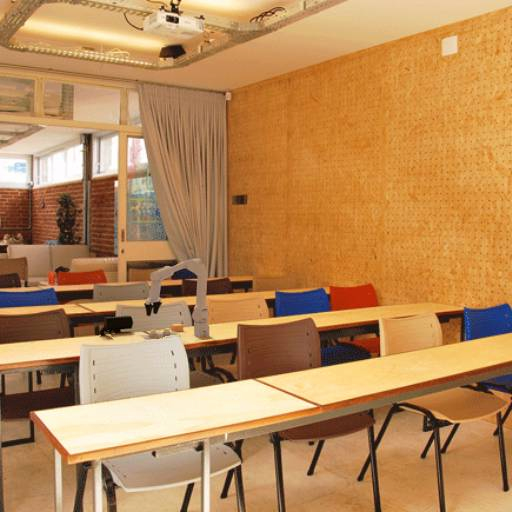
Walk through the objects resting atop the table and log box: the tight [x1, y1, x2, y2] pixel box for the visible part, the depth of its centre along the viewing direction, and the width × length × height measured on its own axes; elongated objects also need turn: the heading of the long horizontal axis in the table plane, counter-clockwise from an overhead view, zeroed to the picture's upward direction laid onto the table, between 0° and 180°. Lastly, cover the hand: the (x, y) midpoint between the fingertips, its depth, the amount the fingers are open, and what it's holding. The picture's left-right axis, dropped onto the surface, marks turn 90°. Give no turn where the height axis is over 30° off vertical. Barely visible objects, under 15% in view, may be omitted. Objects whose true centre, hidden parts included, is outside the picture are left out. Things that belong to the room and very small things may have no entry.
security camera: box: [99, 315, 134, 337], centre depth 363 cm, size 7×18×10 cm, turn 115°
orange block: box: [170, 323, 184, 333], centre depth 370 cm, size 5×5×4 cm
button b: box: [149, 329, 157, 334], centre depth 353 cm, size 2×2×2 cm
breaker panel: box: [139, 331, 181, 340], centre depth 355 cm, size 12×20×3 cm, turn 118°
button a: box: [163, 327, 171, 333], centre depth 356 cm, size 2×2×2 cm
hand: (151, 314), depth 368 cm, fingers open, 7 cm apart
